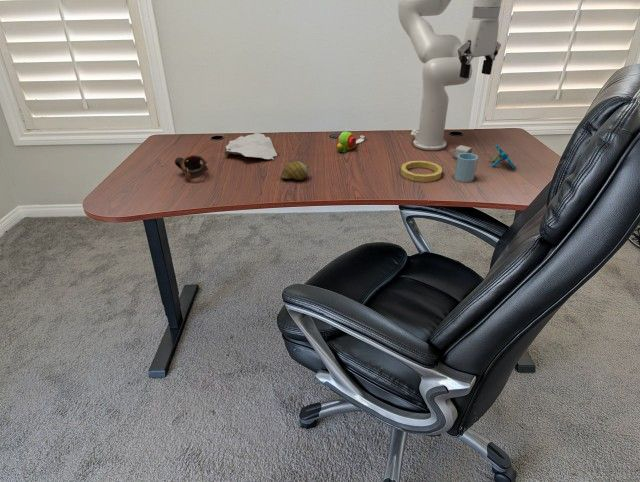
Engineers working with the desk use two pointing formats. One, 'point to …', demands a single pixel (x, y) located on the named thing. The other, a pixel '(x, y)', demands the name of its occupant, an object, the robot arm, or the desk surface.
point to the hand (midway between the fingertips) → (475, 75)
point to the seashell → (295, 171)
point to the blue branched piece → (502, 157)
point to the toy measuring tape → (348, 141)
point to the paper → (252, 146)
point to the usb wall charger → (461, 150)
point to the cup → (466, 167)
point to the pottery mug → (192, 166)
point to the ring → (419, 176)
